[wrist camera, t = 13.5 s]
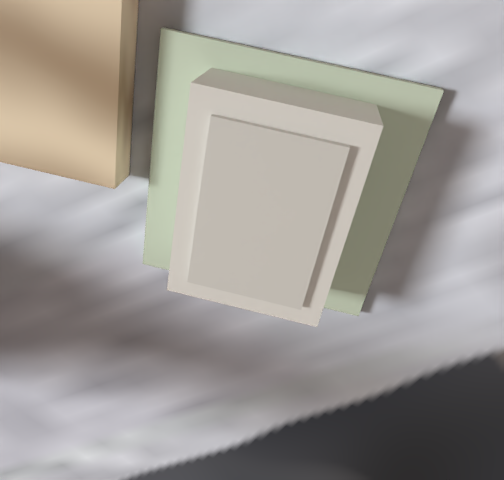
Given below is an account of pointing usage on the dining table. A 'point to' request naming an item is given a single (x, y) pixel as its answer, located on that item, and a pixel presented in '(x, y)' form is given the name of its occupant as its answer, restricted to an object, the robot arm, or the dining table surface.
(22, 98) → the board
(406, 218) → the dining table surface
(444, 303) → the dining table surface
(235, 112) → the cover
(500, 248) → the dining table surface
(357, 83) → the mat
